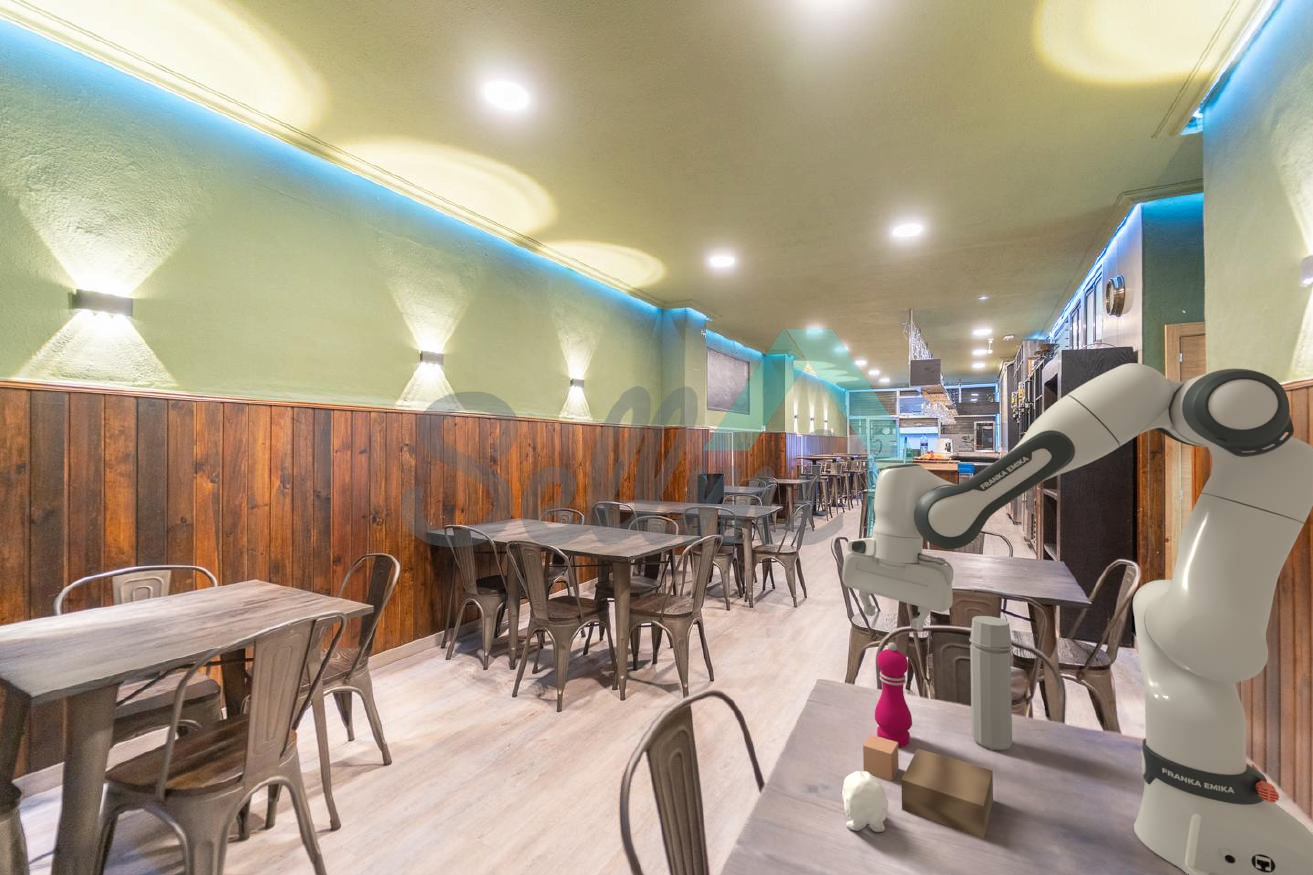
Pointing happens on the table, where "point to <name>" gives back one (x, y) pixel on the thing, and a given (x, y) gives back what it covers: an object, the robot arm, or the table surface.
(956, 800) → the walnut stand
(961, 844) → the table surface
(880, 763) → the terracotta cube
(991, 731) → the water bottle
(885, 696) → the pepper mill
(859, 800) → the penguin figurine
